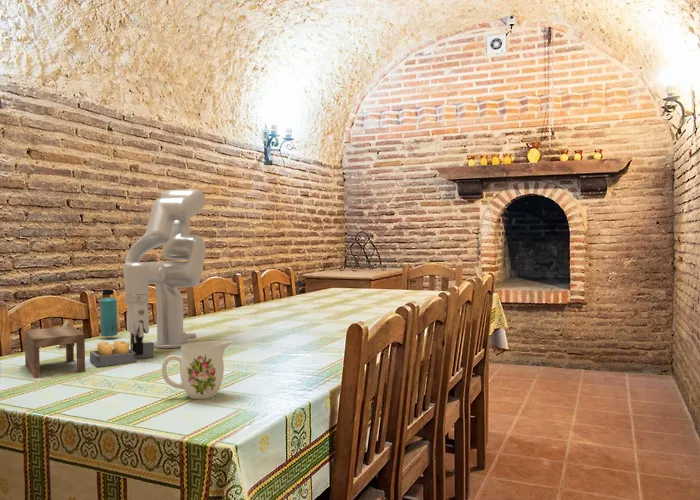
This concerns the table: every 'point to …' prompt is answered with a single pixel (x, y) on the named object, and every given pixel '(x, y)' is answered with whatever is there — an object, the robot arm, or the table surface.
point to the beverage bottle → (108, 314)
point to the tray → (122, 356)
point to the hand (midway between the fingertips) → (136, 353)
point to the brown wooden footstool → (50, 338)
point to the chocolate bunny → (66, 324)
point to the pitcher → (199, 368)
